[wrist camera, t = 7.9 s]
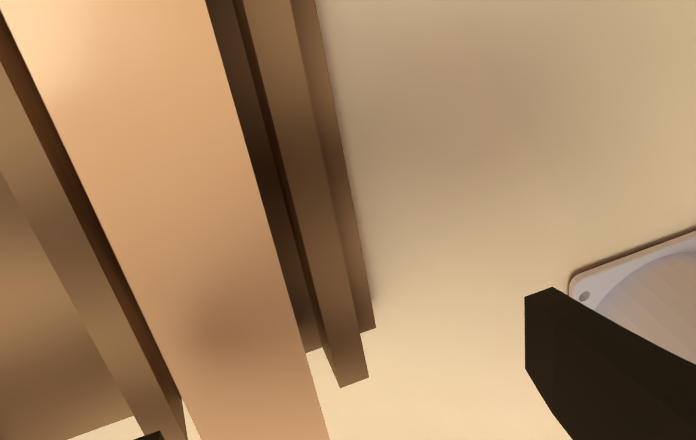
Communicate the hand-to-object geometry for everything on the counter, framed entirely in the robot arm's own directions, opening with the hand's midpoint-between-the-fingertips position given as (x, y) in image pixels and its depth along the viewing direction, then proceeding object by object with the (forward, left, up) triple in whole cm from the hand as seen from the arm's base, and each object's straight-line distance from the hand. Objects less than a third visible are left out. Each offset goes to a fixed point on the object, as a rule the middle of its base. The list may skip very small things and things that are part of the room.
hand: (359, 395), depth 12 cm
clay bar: (+2, +2, -8) cm, 8 cm away
